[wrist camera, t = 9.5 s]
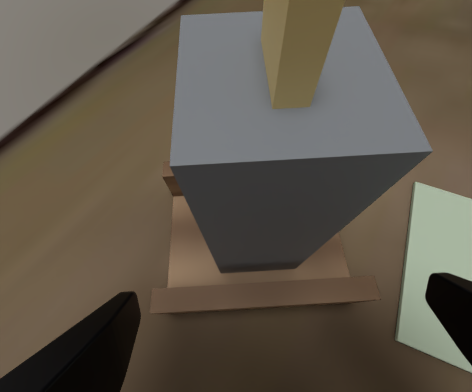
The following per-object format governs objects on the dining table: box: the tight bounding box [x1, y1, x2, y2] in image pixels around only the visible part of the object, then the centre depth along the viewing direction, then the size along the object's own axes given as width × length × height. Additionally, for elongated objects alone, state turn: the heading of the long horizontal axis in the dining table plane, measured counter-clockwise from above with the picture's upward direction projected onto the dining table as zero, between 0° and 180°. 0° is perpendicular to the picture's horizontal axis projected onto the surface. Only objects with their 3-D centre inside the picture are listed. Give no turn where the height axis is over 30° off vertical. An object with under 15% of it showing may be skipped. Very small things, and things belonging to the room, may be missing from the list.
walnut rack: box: [150, 161, 381, 314], centre depth 16 cm, size 9×12×4 cm
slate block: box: [170, 0, 433, 273], centre depth 11 cm, size 5×5×15 cm
